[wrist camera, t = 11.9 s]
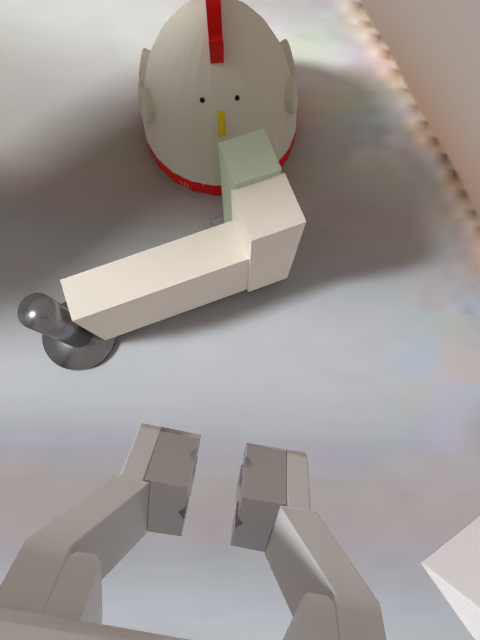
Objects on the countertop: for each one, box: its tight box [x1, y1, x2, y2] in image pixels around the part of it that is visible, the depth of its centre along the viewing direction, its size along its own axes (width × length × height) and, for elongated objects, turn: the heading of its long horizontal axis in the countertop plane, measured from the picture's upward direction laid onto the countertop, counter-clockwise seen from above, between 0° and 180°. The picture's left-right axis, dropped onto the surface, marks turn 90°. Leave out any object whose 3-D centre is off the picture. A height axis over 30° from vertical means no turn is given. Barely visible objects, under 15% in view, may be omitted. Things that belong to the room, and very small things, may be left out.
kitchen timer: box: [139, 0, 298, 195], centre depth 33 cm, size 14×14×15 cm
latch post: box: [210, 128, 282, 227], centre depth 32 cm, size 5×5×12 cm
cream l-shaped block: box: [60, 172, 306, 340], centre depth 30 cm, size 16×4×10 cm, turn 111°
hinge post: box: [18, 293, 116, 370], centre depth 32 cm, size 6×6×8 cm
